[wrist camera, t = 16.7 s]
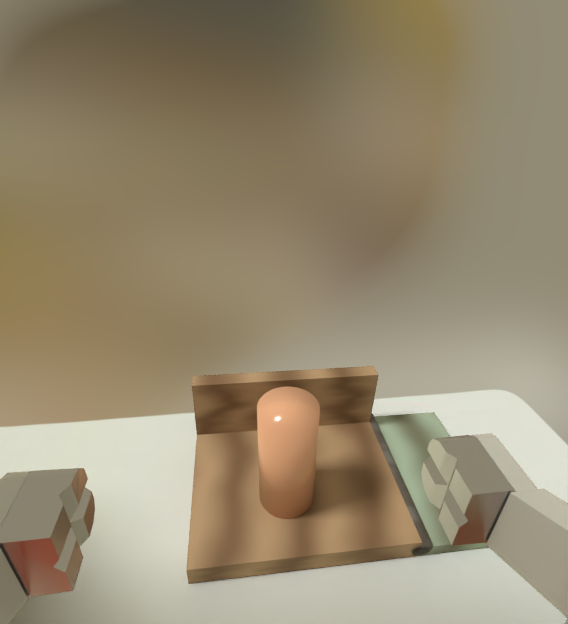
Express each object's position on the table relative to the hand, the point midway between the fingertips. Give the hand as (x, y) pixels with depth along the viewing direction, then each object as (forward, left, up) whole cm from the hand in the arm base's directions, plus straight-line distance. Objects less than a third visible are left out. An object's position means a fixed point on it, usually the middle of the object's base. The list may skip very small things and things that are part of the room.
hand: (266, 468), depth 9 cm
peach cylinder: (+4, +18, -26) cm, 32 cm away
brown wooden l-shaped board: (+10, +20, -28) cm, 36 cm away
